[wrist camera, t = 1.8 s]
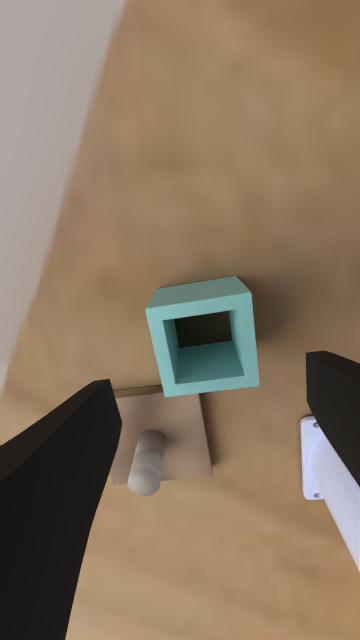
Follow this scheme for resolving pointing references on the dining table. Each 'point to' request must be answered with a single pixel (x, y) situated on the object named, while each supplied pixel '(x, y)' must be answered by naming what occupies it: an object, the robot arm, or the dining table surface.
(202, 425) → the pin plate
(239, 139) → the dining table surface
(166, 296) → the teal hollow block
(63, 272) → the dining table surface
